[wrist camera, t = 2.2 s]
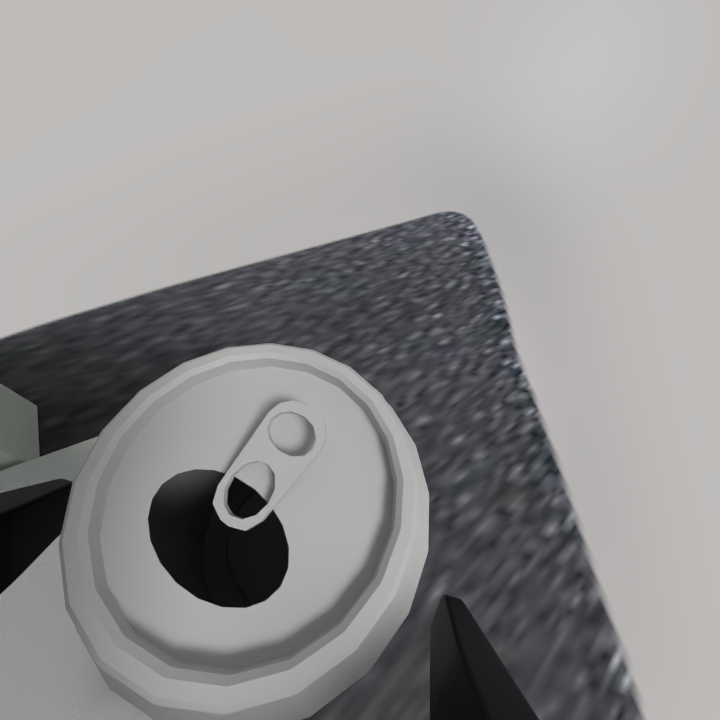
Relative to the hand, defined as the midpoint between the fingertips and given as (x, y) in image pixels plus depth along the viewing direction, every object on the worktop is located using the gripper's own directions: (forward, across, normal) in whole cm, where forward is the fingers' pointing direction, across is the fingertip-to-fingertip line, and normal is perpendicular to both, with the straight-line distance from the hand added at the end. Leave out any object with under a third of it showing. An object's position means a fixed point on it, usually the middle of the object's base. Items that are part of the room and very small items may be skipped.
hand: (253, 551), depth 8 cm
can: (+7, 0, +6) cm, 9 cm away
